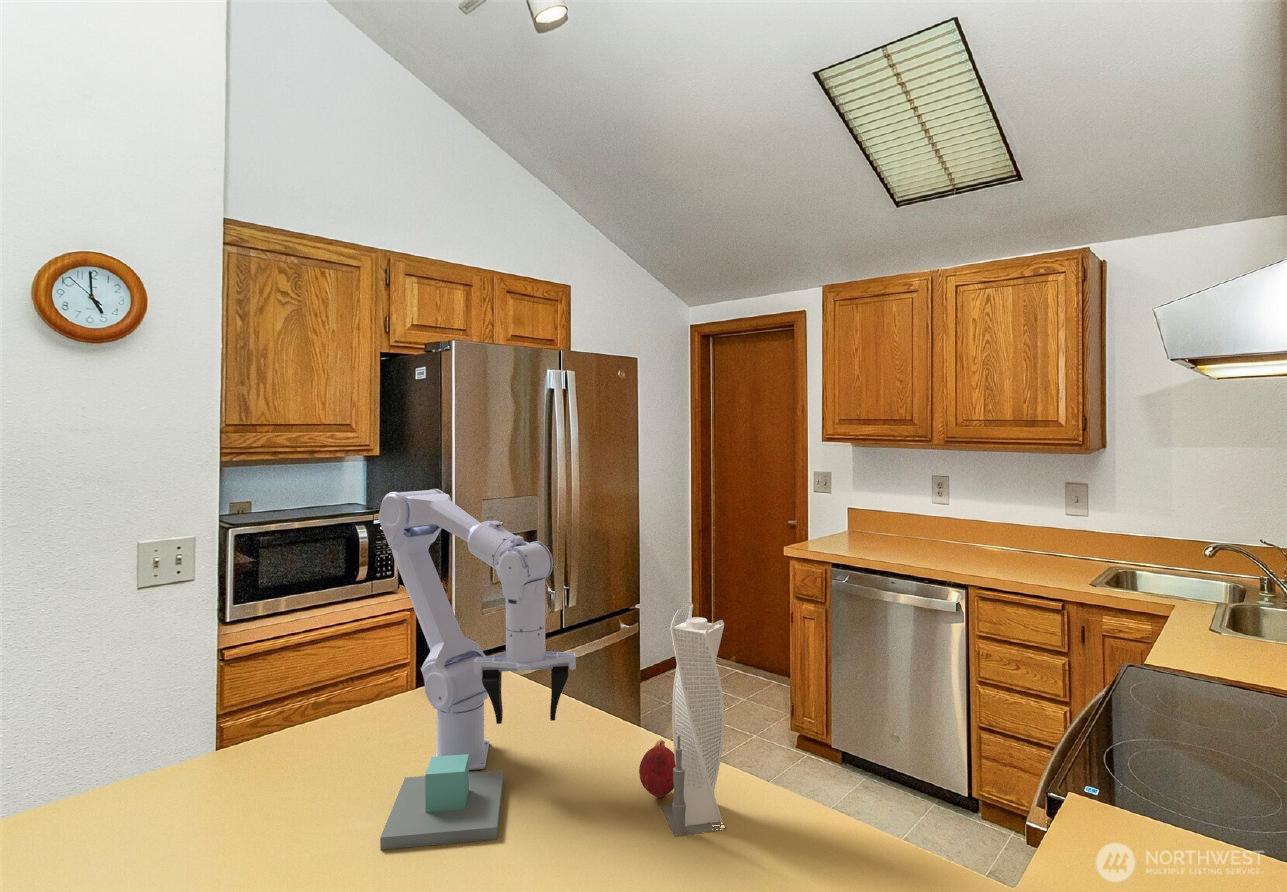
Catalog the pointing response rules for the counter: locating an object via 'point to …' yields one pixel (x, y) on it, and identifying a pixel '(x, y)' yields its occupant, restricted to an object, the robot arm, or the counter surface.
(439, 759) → the cube
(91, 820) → the counter surface
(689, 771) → the skyscraper
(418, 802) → the cutting board
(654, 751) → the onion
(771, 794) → the counter surface
